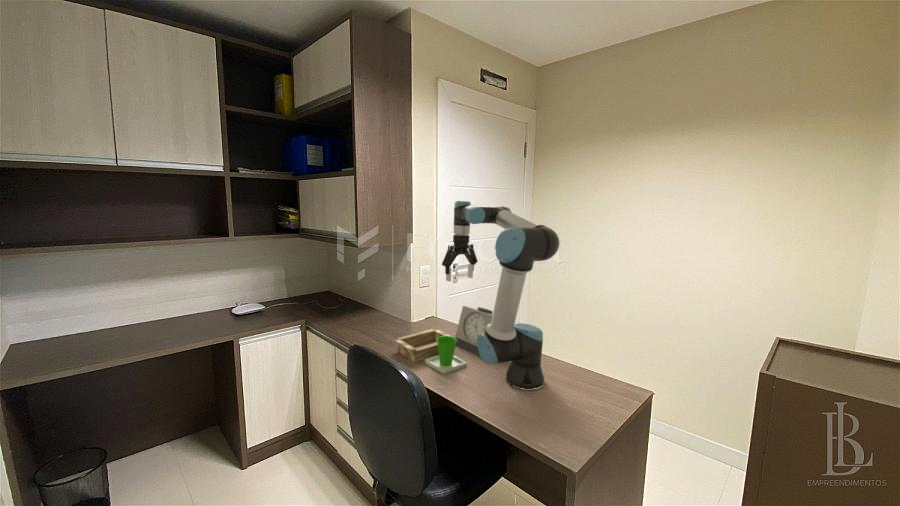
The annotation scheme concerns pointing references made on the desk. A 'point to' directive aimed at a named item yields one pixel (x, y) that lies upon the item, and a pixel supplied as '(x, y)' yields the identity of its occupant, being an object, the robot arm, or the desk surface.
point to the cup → (446, 349)
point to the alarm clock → (472, 327)
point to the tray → (436, 365)
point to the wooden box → (420, 344)
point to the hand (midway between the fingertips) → (459, 279)
